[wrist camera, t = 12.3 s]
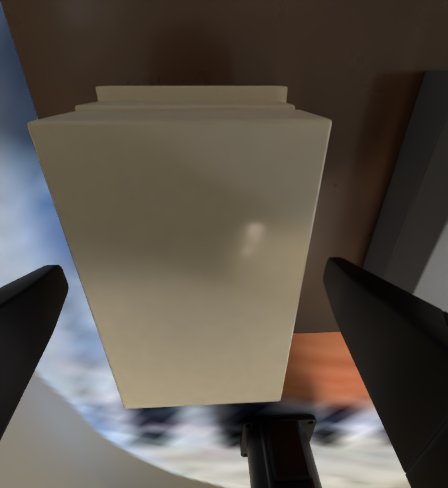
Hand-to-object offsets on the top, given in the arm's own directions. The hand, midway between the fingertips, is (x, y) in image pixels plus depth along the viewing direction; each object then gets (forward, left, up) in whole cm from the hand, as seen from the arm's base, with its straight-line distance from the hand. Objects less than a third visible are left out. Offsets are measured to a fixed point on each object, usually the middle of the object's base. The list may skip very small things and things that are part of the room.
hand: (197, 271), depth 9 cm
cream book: (0, 0, 0) cm, 0 cm away
